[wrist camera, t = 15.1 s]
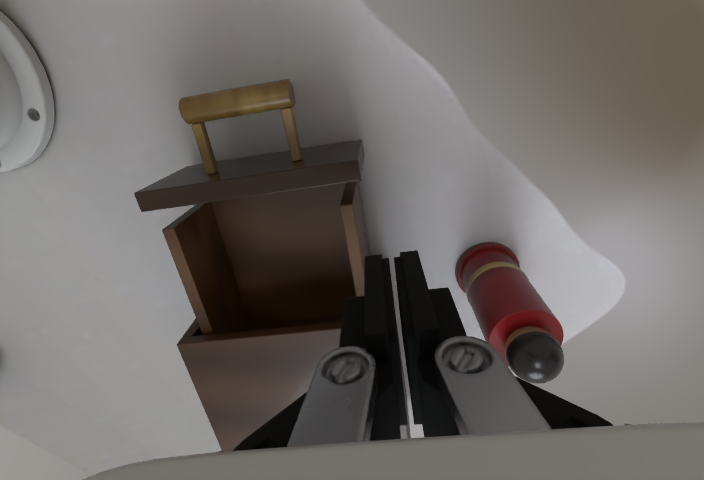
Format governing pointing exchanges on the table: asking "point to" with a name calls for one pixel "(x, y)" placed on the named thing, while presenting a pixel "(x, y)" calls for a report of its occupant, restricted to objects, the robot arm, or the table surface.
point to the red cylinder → (511, 312)
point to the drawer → (264, 222)
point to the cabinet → (256, 373)
